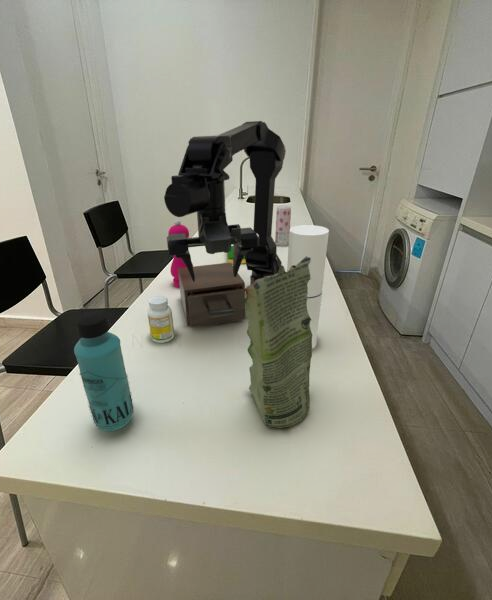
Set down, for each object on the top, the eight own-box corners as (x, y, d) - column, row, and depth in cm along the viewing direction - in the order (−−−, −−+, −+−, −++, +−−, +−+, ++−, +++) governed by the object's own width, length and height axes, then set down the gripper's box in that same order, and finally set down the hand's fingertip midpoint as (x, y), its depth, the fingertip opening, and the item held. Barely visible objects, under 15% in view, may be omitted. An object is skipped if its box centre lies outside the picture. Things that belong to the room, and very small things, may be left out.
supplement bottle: (167, 345, 73) (162, 307, 69) (146, 340, 75) (140, 303, 71) (178, 332, 78) (174, 296, 73) (159, 329, 80) (154, 293, 75)
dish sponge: (245, 251, 129) (245, 245, 128) (248, 263, 117) (248, 257, 116) (227, 251, 129) (227, 245, 128) (228, 264, 117) (227, 257, 116)
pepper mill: (191, 289, 99) (185, 222, 90) (168, 287, 101) (160, 222, 92) (197, 279, 106) (193, 216, 96) (176, 278, 107) (169, 216, 98)
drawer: (250, 328, 77) (250, 298, 73) (193, 337, 74) (190, 306, 71) (231, 295, 92) (231, 269, 89) (184, 302, 90) (181, 275, 86)
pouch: (244, 430, 52) (244, 285, 40) (244, 379, 62) (243, 253, 51) (316, 431, 51) (336, 284, 40) (303, 379, 62) (316, 251, 50)
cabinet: (245, 317, 83) (245, 282, 79) (187, 326, 80) (183, 290, 76) (231, 293, 96) (230, 262, 91) (181, 300, 93) (177, 268, 89)
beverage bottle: (100, 410, 57) (72, 307, 48) (139, 406, 57) (119, 304, 48) (90, 441, 51) (56, 331, 42) (133, 437, 51) (109, 327, 42)
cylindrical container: (296, 355, 69) (306, 237, 57) (276, 338, 74) (281, 228, 63) (323, 345, 71) (337, 231, 60) (301, 329, 77) (311, 223, 66)
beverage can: (291, 243, 136) (293, 206, 129) (285, 246, 132) (287, 208, 125) (278, 241, 139) (280, 204, 132) (272, 244, 135) (274, 207, 128)
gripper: (165, 219, 57) (174, 299, 64) (268, 211, 60) (266, 288, 67) (162, 207, 67) (171, 278, 74) (251, 200, 70) (251, 269, 77)
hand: (214, 278), depth 73 cm, fingers open, 9 cm apart
